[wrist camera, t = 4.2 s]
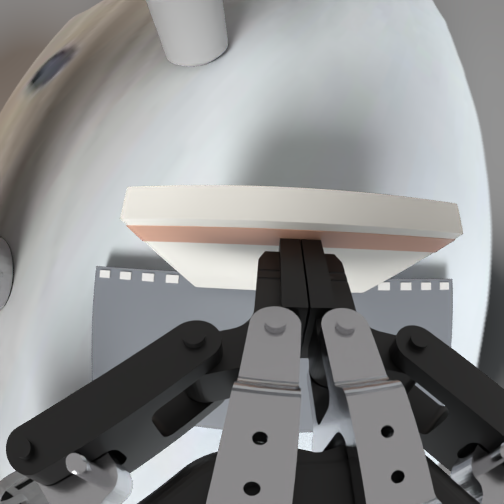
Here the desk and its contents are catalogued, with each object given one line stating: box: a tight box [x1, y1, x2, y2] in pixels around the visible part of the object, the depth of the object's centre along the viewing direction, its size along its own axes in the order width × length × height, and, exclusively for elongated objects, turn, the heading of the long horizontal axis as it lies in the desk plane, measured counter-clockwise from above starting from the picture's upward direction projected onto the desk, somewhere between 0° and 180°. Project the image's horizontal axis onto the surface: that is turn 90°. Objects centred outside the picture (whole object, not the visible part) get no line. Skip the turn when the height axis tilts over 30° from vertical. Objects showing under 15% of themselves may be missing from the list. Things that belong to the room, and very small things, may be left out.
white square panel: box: [120, 185, 463, 293], centre depth 15 cm, size 12×1×12 cm, turn 87°
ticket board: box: [92, 266, 453, 432], centre depth 21 cm, size 30×12×2 cm, turn 87°
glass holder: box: [0, 471, 49, 504], centre depth 12 cm, size 9×14×15 cm, turn 152°
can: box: [146, 0, 228, 67], centre depth 22 cm, size 8×8×12 cm
